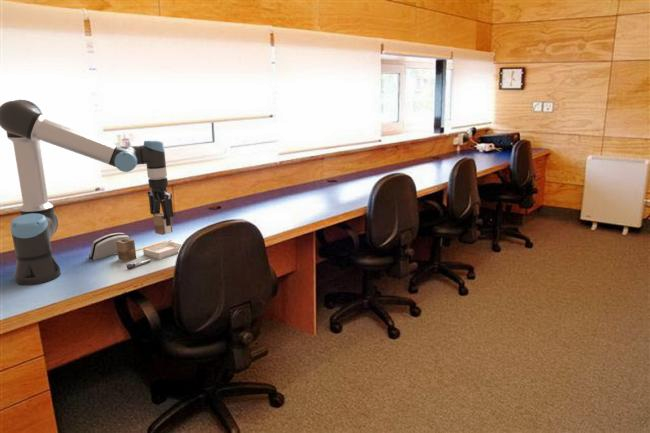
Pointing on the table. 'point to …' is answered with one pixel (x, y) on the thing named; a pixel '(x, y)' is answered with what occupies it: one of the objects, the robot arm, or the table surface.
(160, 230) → the block
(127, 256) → the block
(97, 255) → the napkin holder
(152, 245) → the pencil
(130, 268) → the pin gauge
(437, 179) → the table surface
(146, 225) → the table surface
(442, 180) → the table surface
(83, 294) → the table surface
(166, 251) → the tray
